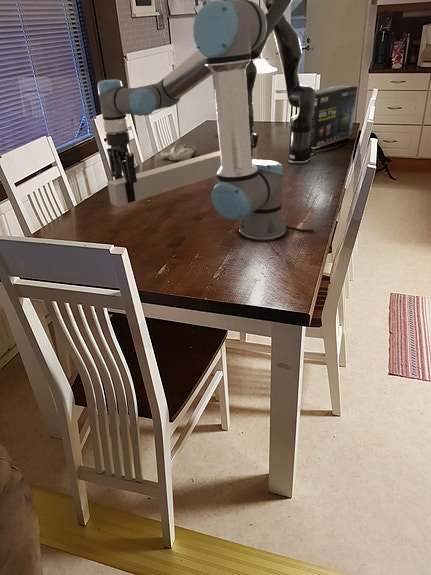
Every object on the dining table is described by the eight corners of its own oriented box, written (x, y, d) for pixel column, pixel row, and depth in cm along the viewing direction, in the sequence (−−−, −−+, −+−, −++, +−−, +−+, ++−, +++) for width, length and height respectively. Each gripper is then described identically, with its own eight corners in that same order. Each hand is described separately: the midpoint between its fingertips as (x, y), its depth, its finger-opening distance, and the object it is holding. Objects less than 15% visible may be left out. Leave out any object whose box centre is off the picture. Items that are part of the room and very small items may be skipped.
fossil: (184, 156, 217) (163, 136, 220) (174, 174, 223) (154, 154, 227) (205, 153, 231) (186, 134, 234) (195, 171, 237) (176, 152, 240)
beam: (118, 207, 157) (114, 185, 153) (110, 203, 161) (107, 181, 157) (257, 162, 196) (257, 144, 192) (249, 160, 199) (249, 142, 195)
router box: (314, 151, 231) (318, 94, 217) (296, 148, 237) (299, 92, 224) (352, 138, 251) (358, 85, 238) (335, 135, 258) (340, 83, 245)
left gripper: (141, 133, 146) (150, 202, 158) (112, 126, 158) (122, 191, 170) (121, 137, 142) (132, 208, 154) (93, 130, 154) (105, 196, 165)
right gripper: (263, 115, 182) (263, 158, 191) (238, 111, 191) (239, 152, 200) (250, 118, 178) (250, 162, 186) (225, 114, 187) (226, 156, 196)
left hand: (127, 199), depth 162 cm, fingers closed on beam, 5 cm apart
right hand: (244, 156), depth 193 cm, fingers closed on beam, 5 cm apart
